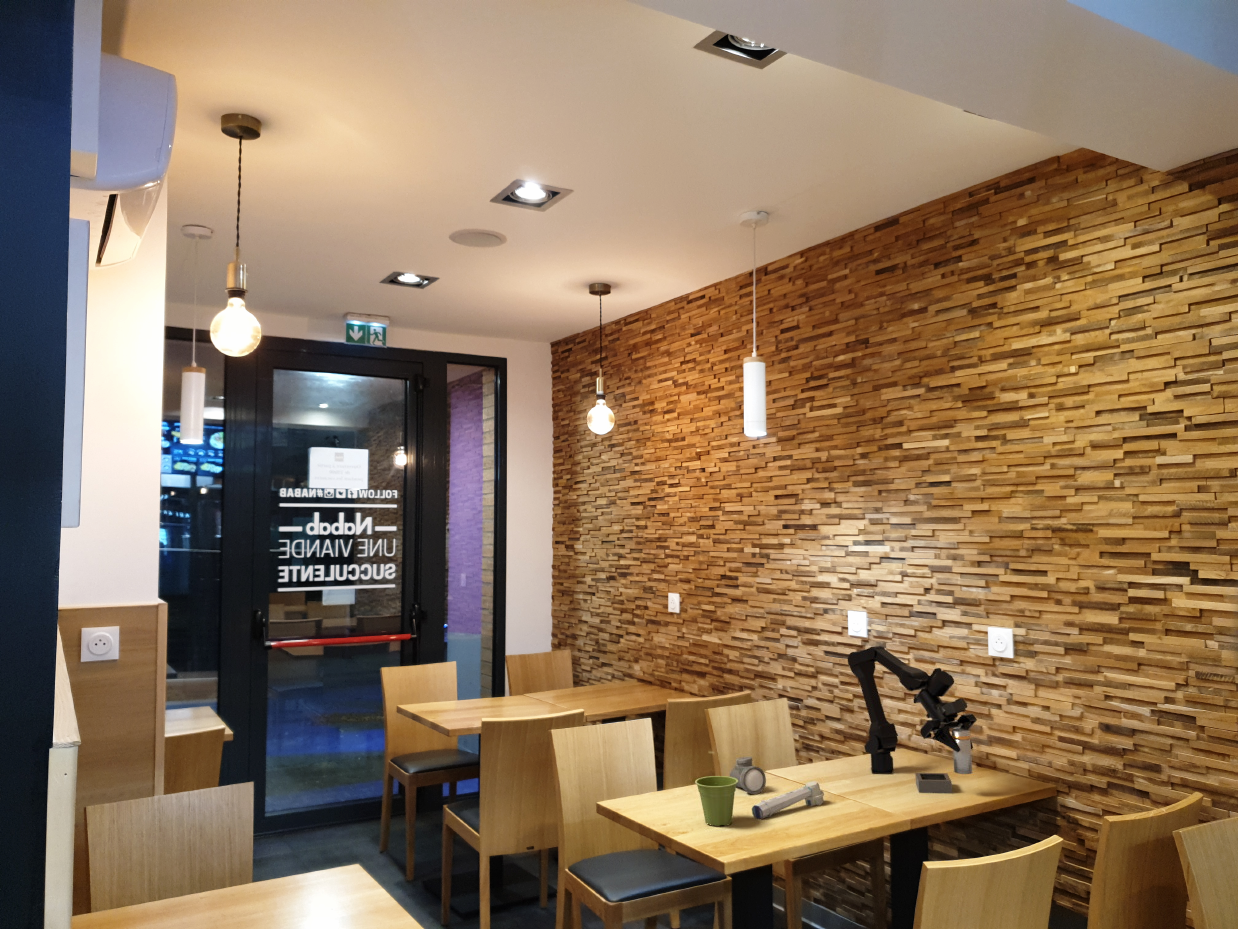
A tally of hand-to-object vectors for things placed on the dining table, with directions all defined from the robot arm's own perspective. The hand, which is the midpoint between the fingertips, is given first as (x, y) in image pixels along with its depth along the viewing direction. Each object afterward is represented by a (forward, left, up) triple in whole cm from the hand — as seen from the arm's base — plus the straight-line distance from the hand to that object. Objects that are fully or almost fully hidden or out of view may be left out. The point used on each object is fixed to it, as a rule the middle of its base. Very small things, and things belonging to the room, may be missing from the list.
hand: (965, 750), depth 269 cm
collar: (-9, +8, -13) cm, 18 cm away
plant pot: (-70, -31, -14) cm, 78 cm away
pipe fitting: (-65, +3, -14) cm, 66 cm away
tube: (-1, +1, -7) cm, 7 cm away
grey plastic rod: (-51, -18, -14) cm, 56 cm away
